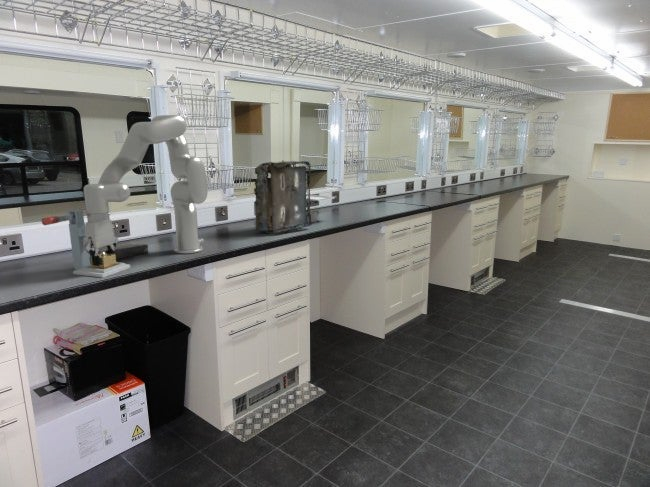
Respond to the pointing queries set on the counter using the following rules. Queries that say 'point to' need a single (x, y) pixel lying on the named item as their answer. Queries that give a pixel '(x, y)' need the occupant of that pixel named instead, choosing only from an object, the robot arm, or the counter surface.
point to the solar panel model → (316, 198)
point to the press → (82, 255)
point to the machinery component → (282, 196)
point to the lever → (58, 219)
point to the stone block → (127, 250)
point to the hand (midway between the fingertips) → (103, 262)
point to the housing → (105, 261)
